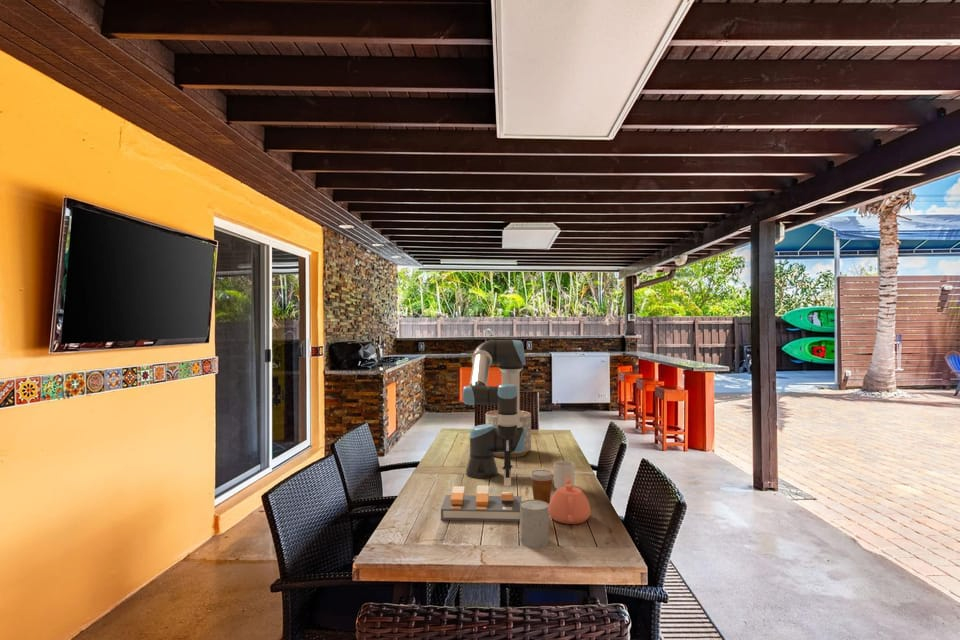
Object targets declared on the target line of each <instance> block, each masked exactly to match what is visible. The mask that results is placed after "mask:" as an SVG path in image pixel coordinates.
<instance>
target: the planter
mask: <svg viewBox="0 0 960 640" xmlns="http://www.w3.org/2000/svg"><path fill="white" fill-rule="evenodd" d="M496 416H498V409H496V410H490V411H487V412H486V413H485V424H493V425H494V428H498V425H499V424H498V418H496ZM519 421H520V422H521V423H522V424H523V428H525V429H526V433H525V442H524V448H523V451H522V452H521V453H511V458H519V457H524V456H526V455H527V452H529V451H531V449H532V413H531V412H529V411H526V410H521V409H519ZM494 457H499V458H504V453H494Z"/></svg>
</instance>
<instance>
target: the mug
mask: <svg viewBox="0 0 960 640" xmlns="http://www.w3.org/2000/svg"><path fill="white" fill-rule="evenodd" d="M575 466H576V465H575V463H574V462H573V461H568V460H557V461H555V462H554V463H553V473H554V474H553V476H554V477H553V487H554V488H555V490H557V489H558V488H560V487H565V483H566V477H569V479H570V484H572V485H574V487H575V488H576V486H575V485H576V484H575V483H576V482H575V468H576V467H575Z"/></svg>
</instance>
